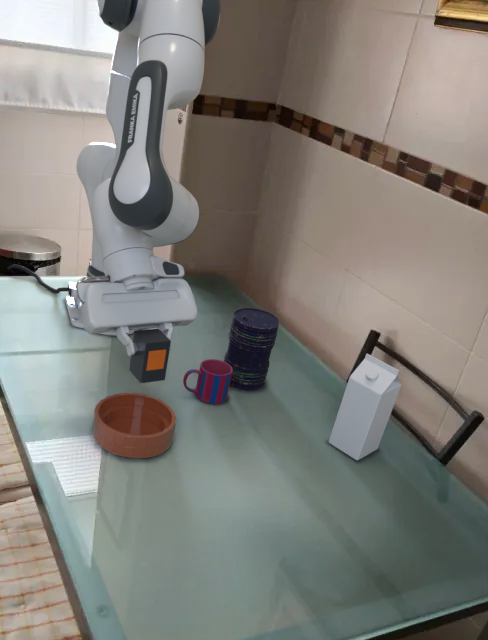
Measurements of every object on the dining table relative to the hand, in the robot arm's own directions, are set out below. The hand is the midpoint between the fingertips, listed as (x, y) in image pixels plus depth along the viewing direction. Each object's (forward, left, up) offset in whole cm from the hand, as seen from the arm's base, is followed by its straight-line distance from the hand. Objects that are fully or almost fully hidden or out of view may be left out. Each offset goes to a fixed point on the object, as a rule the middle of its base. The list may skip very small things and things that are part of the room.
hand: (150, 353), depth 110 cm
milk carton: (+13, +40, -18) cm, 46 cm away
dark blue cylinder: (-15, +31, -18) cm, 39 cm away
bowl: (-1, -1, -17) cm, 17 cm away
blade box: (0, 0, -4) cm, 4 cm away
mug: (-11, +19, -18) cm, 28 cm away
